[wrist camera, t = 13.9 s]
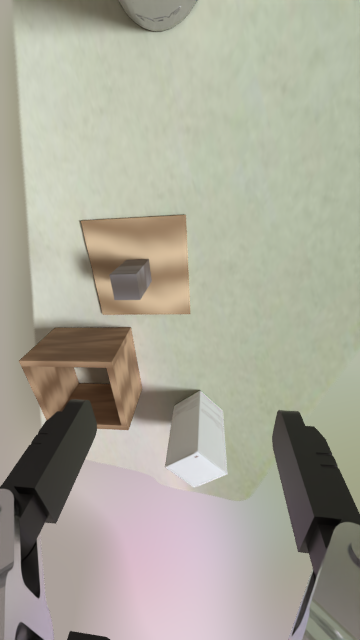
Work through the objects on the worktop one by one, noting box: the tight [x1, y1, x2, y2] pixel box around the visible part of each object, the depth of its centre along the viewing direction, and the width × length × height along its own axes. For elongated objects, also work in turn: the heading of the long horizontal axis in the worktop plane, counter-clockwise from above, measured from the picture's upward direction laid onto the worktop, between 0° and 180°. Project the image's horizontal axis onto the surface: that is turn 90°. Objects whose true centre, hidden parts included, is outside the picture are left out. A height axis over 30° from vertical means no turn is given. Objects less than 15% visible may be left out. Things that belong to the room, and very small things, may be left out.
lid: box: [81, 215, 190, 315], centre depth 34 cm, size 15×15×8 cm
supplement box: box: [165, 391, 227, 488], centre depth 44 cm, size 7×7×13 cm
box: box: [19, 327, 142, 430], centre depth 42 cm, size 14×14×10 cm
